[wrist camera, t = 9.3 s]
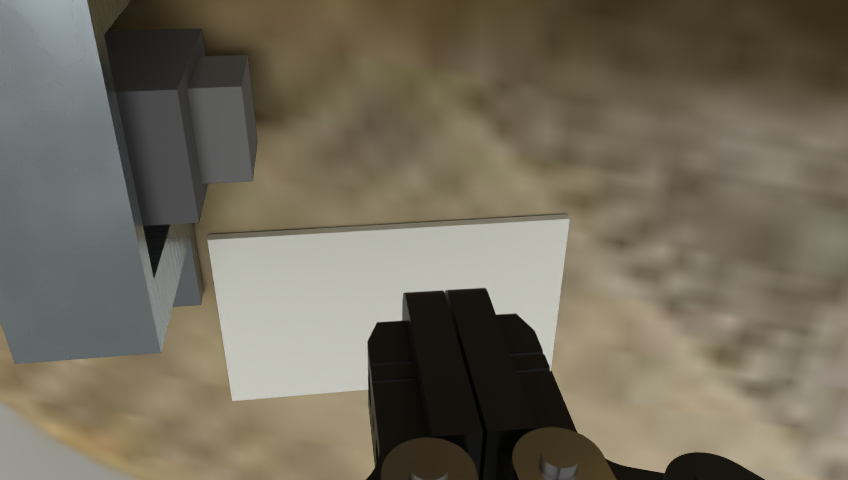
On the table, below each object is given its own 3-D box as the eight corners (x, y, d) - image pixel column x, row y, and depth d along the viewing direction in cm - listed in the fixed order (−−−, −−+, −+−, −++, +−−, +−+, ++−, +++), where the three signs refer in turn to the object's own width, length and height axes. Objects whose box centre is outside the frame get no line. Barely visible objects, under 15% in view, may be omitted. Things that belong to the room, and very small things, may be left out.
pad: (208, 234, 29) (207, 240, 28) (566, 214, 31) (569, 218, 30) (233, 394, 33) (232, 400, 33) (547, 368, 35) (550, 374, 34)
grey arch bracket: (-31, -213, 21) (-181, -213, 14) (121, -212, 21) (42, -210, 15) (97, 297, 30) (40, 440, 23) (203, 290, 30) (177, 428, 24)
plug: (-178, 38, 24) (-309, 108, 19) (248, 26, 25) (235, 87, 20) (-131, 156, 26) (-238, 248, 21) (261, 138, 27) (251, 219, 22)
